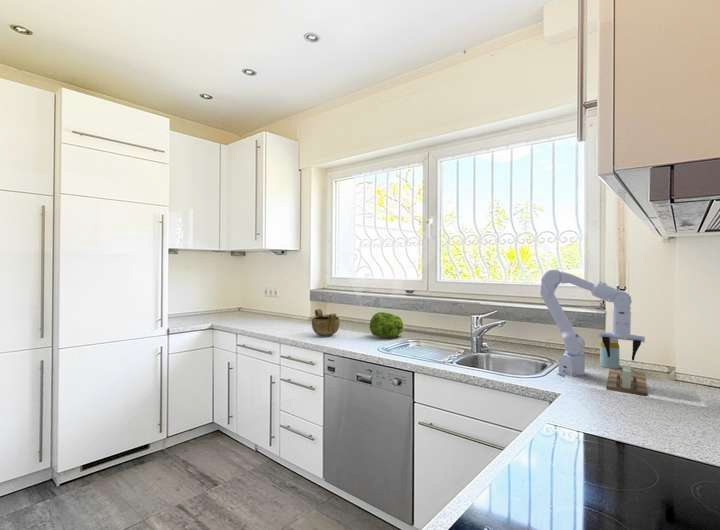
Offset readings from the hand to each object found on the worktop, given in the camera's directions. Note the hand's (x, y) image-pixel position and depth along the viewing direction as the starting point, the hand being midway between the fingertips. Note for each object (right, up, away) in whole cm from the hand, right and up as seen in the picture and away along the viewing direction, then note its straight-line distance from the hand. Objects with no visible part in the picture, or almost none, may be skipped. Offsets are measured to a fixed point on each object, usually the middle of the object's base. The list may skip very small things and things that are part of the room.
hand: (620, 358), depth 147 cm
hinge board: (+2, -9, -1) cm, 10 cm away
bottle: (+7, -9, +18) cm, 21 cm away
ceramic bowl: (-121, -8, +87) cm, 149 cm away
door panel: (-2, -8, -6) cm, 10 cm away
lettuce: (-83, -8, +83) cm, 118 cm away
